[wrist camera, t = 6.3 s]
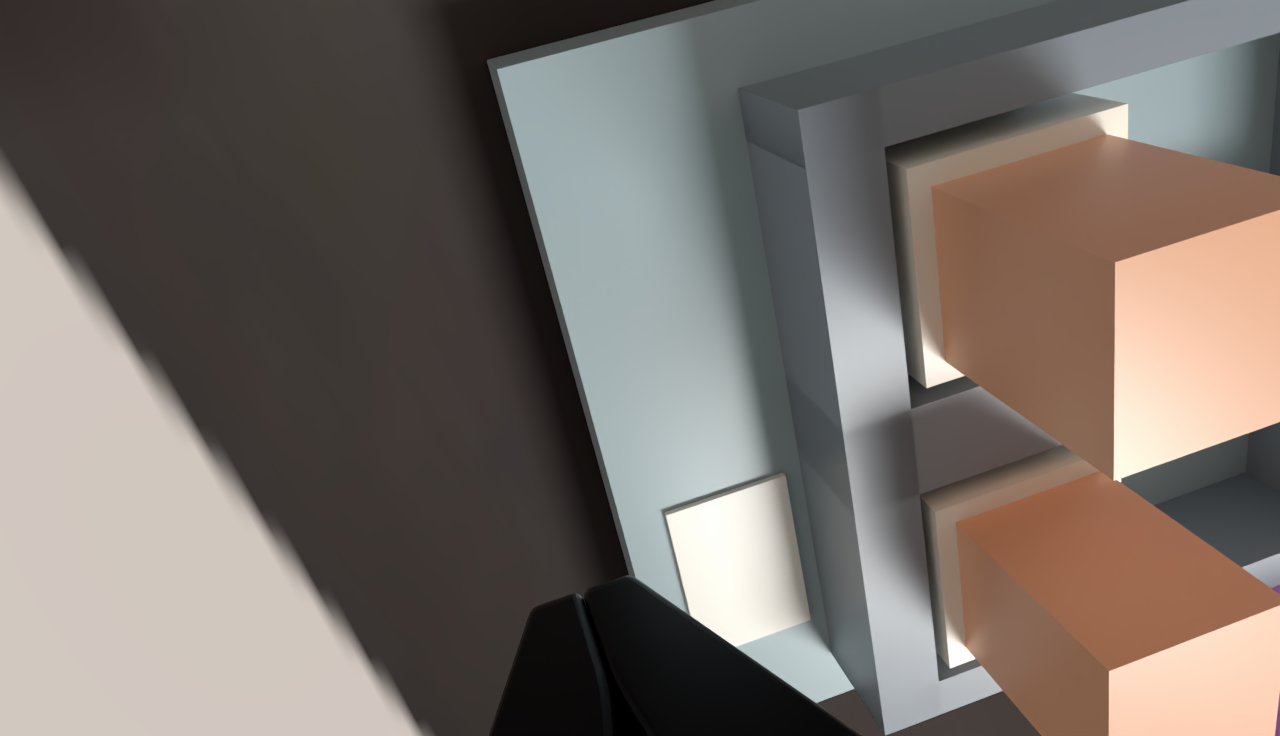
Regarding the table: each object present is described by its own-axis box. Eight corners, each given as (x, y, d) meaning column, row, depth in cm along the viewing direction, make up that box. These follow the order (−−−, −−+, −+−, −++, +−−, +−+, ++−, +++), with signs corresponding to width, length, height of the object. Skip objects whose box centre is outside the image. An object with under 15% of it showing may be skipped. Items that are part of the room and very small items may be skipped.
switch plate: (1296, 474, 20) (1450, 560, 17) (665, 705, 18) (719, 845, 15) (1366, -170, 15) (1603, -200, 12) (487, 59, 13) (518, 88, 10)
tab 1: (1042, 282, 15) (1336, 425, 10) (864, 339, 14) (1087, 514, 10) (1037, 85, 13) (1371, 150, 9) (839, 142, 13) (1085, 240, 8)
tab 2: (1048, 542, 17) (1291, 753, 12) (893, 598, 16) (1087, 837, 12) (1043, 395, 15) (1314, 573, 11) (875, 452, 15) (1085, 660, 11)
